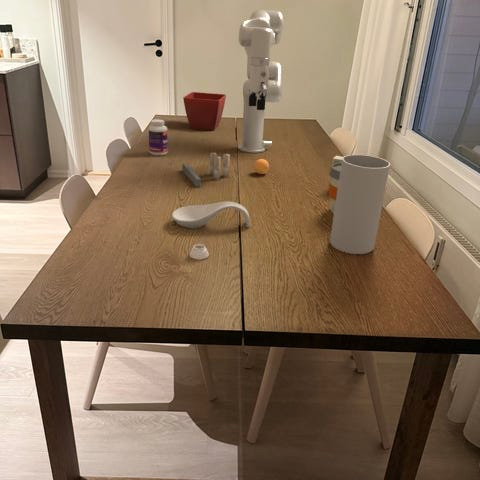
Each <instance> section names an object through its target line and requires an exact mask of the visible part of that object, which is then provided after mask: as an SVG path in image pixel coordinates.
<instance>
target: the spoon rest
mask: <svg viewBox="0 0 480 480" xmlns="http://www.w3.org/2000/svg"><path fill="white" fill-rule="evenodd" d="M228 209H233V210H236V211H238V212H240V213H242V215H243V216H244V220H245V225H246V227H247V228H251V224H252V223H251V219H250V215H249V211H248V210H247V208H246V207H245V206H244V205H241V204H240V203H237V202H235V201H220V202H214V203H208V204H199V205H194V204H193V205H188V206H186V205H185V206H183V207H179V208H176V209H175V210H173V212H172V214H171V218H172V219H173V221H175V222H176V223H177V224H178V225H179V226H182V227H184V228H189V229H197V228H196V227H199V228H201V226H202V227H204V225H206V224H207V223H209V221H211V219H213V218H214V217H215V216H217V215H218V214H219V213H220V212H222V211H224V210H228Z"/></svg>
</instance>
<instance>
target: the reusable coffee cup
mask: <svg viewBox="0 0 480 480" xmlns="http://www.w3.org/2000/svg"><path fill="white" fill-rule="evenodd" d="M341 164H342V163H336V164H333V165H332V164H331V166H330V171H329V177H330V178H329V180H330V181H329V182H328V196H329V211H330V210H331V211H332V212H334V210H335V204H336V197H337V190H338V184H339V177H340V171H341ZM331 211H330V212H331ZM332 212H331V213H332Z"/></svg>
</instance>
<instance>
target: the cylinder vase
mask: <svg viewBox="0 0 480 480" xmlns="http://www.w3.org/2000/svg"><path fill="white" fill-rule="evenodd" d="M342 157H343V158H342V164H341V171H340V177H339V184H338V190H337V197H336V204H335V210H334V213H333V218H332V224H331V232H330V238H329V243H330V245H331V246H332V247H333V248H334V249H336V250H337V251H339V252H342V253H344V252H345V254H348V253H349V255H357V254H359V255H365V254H369V253H371V252H372V251H373V250H374V249H375V246H376V239H377V235H378V230H379V224H380V221H381V220H380V219H381V215H382V208H383V204H384V199H385V194H386V189H387V184H388V179H389V174H390V173H389V172H390V167H391V163H390V162H389V161H388V160H386V159H384V158H381V157H377V156H374V155H367V154H347V155H344V156H342Z"/></svg>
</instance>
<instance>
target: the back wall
mask: <svg viewBox="0 0 480 480" xmlns="http://www.w3.org/2000/svg"><path fill="white" fill-rule="evenodd" d="M181 166H182V167H181V168H182V170H181V171H182V172H183V173H184V174H185V175H186V177H187V178H188V180H190V182H191V183H192V182H193V183H192V184H193V185H194V186H195V187H196V188H200V187H201V181H202V179H201V177H200V176H199V175H198V174H197V173H196V172H195V171H194V169H192V167H191V166H189V164H188V163H186V162H182V164H181Z"/></svg>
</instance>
